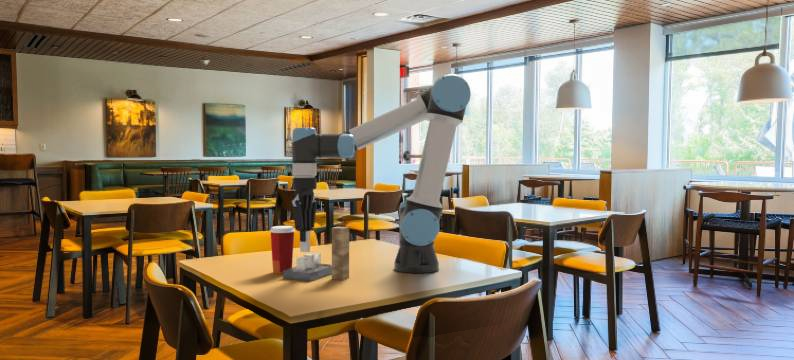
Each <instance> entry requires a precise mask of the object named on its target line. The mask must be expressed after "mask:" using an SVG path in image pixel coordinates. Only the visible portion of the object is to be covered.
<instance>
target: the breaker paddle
mask: <svg viewBox="0 0 794 360" xmlns="http://www.w3.org/2000/svg"><path fill="white" fill-rule="evenodd" d="M303 257H307V267H308V268H313V267H314V255H313V254H311V253H304V254H303Z"/></svg>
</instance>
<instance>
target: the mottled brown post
mask: <svg viewBox="0 0 794 360" xmlns="http://www.w3.org/2000/svg"><path fill="white" fill-rule="evenodd" d="M331 265H332V274H331V279H332V280H339V281H345V280H347V279H349V278H350V227H349V226H348V227H347V226H335V227H331Z"/></svg>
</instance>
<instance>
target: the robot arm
mask: <svg viewBox="0 0 794 360" xmlns="http://www.w3.org/2000/svg"><path fill="white" fill-rule="evenodd" d="M471 93H472V92H471V88H470V84H469V83H468V82H467V80H466V79H464V78H463V76H460V75H458V74H453V73H451V74H450V73H449V74H445V75H442V76H440V77H439V78H438V79H436V81H435V82H434V84H433V85H432V87H430V88H428V89H427V90H425V91H423V92H422V93H420V94H418V95H417V96H416V99H413V100H411V101H410V102H407V103H405V104H403V105H401V106H398V107H396V108H394V109H392V110H389V111H387V112H385V113H383V114H381V115H378V116H377V117H373V118H372V119H370V120H368V121H365V122H363V123H361V124H359V125H356V126H355V127H352V128H351V129H348V130H346V131H343V132H342V133H324V134H323V133H317V132H318V131H317V129H316V128H315V127H295V128H294V129H292V135H291V136H292V137H291V155H292V156H291V159H292V161H291V162H292V166H291V167H292V176H293V178H292V189H293V190H295V194H294V199H291V200H290V202H289V203H290V205H291V209H292V210H291V211H292V215H293V222H294V230H295V231H296V232H299V251H300V252H301V253H309V252H311V232H312V231H314V227H315V222H316V215H317V207H318V206H317V205H318V203H319V197H315V192H314V190H317V189H318V188H317V180H318V179H317V175H318V173H317V171H318V170H317V159H347V158H349V159H351V158H353V157H354V156H355V152H357V151H360V150H362V149H364V148H366V147H368V146H371V145H373V144H375V143H377V142H380V141H382V140H384V139H386V138H388V137H390V136H392V135H395V134H398V133H399V132H401V131H403V130H406V129H409V128H410V127H412V126H415V125H417V124H419V123H421V122H424V121H428V122H429V123H428V127H427V132H426V135H425V141H424V146H423V149H422V154H421V158H420V161H419V166H418V170H417V175H416V179H415V183H414V187H413V192H412V194H411V195H410V196H408V197H407V198H406V201H402V202H401V203H400V205H399V209H398V212H399V247H398V250H397V252H396V257H395V259H394V262H393V263H394V268H393V269H394V270H395V271H398V272H401V273H409V274H425V273H433V272H438V271H439V269H440V267H439V266H440V265H439V264H440V263H439V260H438V256H437V253H436V250H435V245H434V244H435V242H434V241H435V240H436V238H437V237H438V235H439V233H440V228H441V227H440V219H441V216H442V213H443V212H442V211H443V205H442V203H441V201H440V199H441V194H442V190H443V186H444V181H445V178H446V175H447V174H446V172H447V170H448V164H449V161H450V156H451V152H452V148H453V143H454V139H455V135H456V130H457V127H458V126H459V125H461V124H462V123H463V121H464V117H465V112H466V109H467V106H468V104H469V102H470V100H471ZM315 176H316V177H315Z"/></svg>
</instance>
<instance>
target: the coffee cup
mask: <svg viewBox="0 0 794 360" xmlns="http://www.w3.org/2000/svg"><path fill="white" fill-rule="evenodd" d="M268 232H270V243H271V258H272V259H271V260H272V272H273V273H272V274H274V275H275V274H276V275H283V270H287V269H290V268H293V259H294V258H293V257H294V256H293V255H294V243H295V242H294V241H295V239H294V238H295V232H296V229H295V226H292V225H276V226H271V228H270V230H269V231H268Z"/></svg>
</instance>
